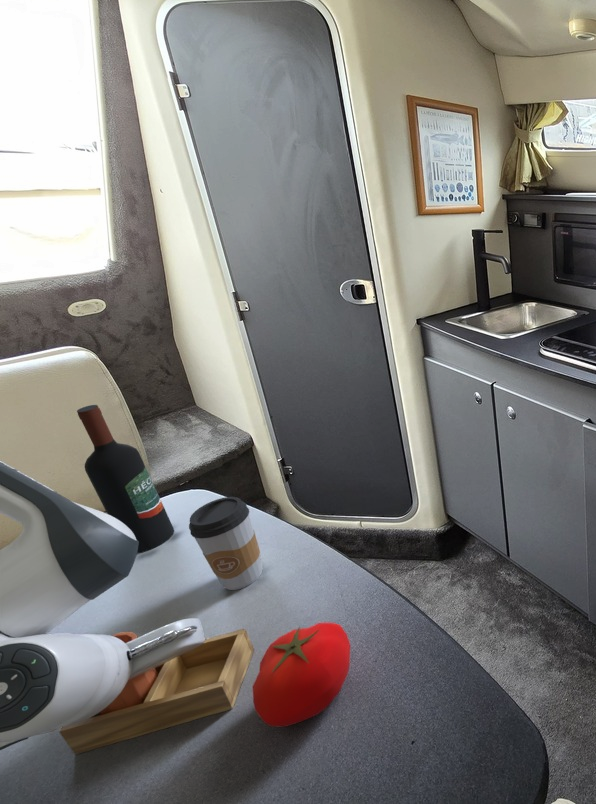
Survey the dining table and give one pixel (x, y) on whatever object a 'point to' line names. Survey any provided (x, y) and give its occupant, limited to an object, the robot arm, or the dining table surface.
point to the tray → (174, 694)
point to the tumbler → (132, 684)
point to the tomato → (301, 674)
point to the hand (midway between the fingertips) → (119, 673)
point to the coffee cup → (228, 541)
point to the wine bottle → (124, 483)
